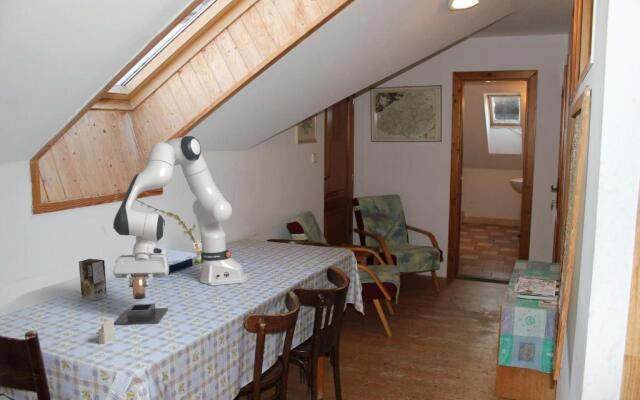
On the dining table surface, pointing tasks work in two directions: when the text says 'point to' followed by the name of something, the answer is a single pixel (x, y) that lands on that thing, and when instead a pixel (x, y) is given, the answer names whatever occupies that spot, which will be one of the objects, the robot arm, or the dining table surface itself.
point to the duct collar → (141, 315)
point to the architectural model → (106, 331)
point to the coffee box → (93, 279)
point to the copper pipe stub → (138, 287)
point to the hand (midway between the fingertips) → (138, 286)
